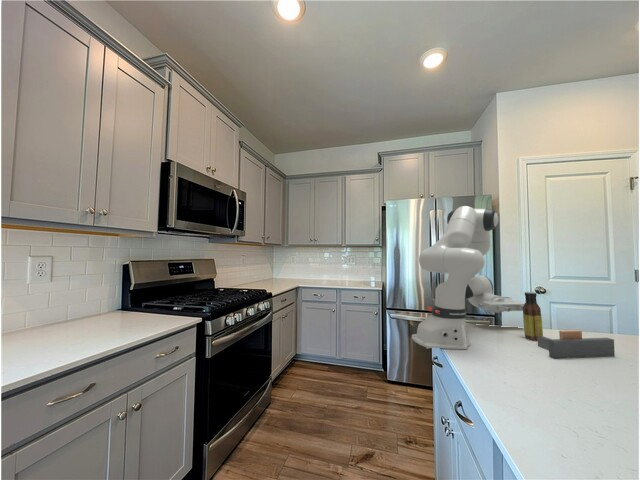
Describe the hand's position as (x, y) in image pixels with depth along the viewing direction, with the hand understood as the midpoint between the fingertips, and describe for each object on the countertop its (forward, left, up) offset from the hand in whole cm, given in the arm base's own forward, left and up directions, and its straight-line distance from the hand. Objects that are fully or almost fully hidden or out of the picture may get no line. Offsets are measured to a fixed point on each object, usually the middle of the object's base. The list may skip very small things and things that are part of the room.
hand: (518, 309), depth 119 cm
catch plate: (0, -22, -10) cm, 25 cm away
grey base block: (0, -20, -11) cm, 23 cm away
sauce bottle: (0, -7, -11) cm, 13 cm away
